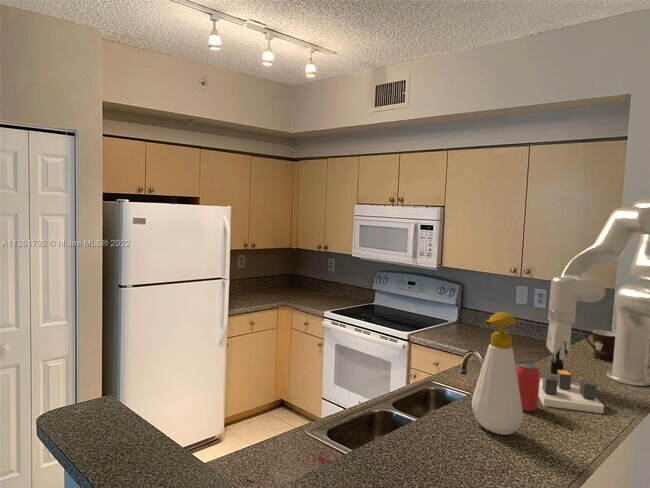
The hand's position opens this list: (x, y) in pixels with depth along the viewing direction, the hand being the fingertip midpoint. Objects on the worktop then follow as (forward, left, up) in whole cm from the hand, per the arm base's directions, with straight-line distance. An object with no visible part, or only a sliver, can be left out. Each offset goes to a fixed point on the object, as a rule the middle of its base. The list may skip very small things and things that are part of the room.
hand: (556, 373), depth 150 cm
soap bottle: (+41, -23, -4) cm, 47 cm away
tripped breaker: (+8, 0, -1) cm, 8 cm away
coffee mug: (-38, +24, -4) cm, 46 cm away
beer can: (+23, -13, -4) cm, 26 cm away
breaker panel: (+11, 0, -4) cm, 11 cm away
